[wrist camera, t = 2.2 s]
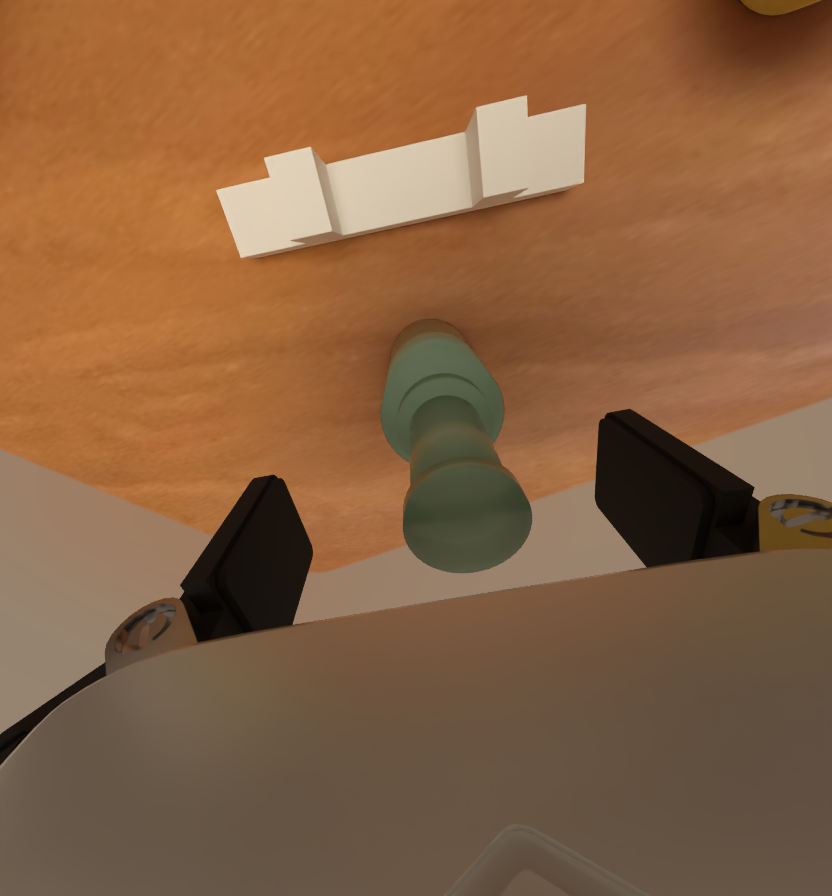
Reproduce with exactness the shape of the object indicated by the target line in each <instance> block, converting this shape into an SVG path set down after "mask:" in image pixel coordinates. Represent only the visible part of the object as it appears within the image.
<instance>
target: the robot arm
mask: <svg viewBox="0 0 832 896" xmlns="http://www.w3.org/2000/svg"><path fill="white" fill-rule="evenodd" d="M753 490H754V487H753V486H752V485H750V484H749V483H747V482H745V481H744V480H742V479H741V478H739V477H737V476H736V475H734V474H733V473H731V472H729V471H728V470H726V469H725V468H723V467H722V466H720V465H718V464H717V463H715V462H714V461H712V460H710V459H709V458H707V457H706V456H704V455H703V454H701V453H699V452H698V451H696V450H695V449H693V448H692V447H690V446H688V445H687V444H685V443H684V442H682V441H680V440H679V439H677V438H676V437H674V436H672V435H671V434H669V433H668V432H666V431H665V430H663V429H661V428H660V427H658V426H657V425H655V424H653V423H652V422H650V421H649V420H647V419H646V418H644V417H642V416H641V415H639V414H638V413H636V412H634V411H633V410H631V409H626V410H621V411H616V412H610V413H607V414H606V416H605V418H604V419H601V420H600V422H599V431H598V448H597V466H596V484H595V501H596V504H597V506H598V508H599V509H600V510H601V512H602V513H603V514H604V515H605V517H606V518H607V519H608V520H609V522H610V523H611V524H612V525H613V526H614V528H615V529H616V530H617V531H618V533H619V534H620V535H621V536H622V537H623V539H624V540H625V541H626V543H627V544H628V545H629V546H630V547H631V549H632V550H633V551H634V552H635V554H637V556H638V557H639V559H640V560H641V561H642V562H643V563H644V565H645V566H646V567H647V568H640V569H634V570H628V571H621V572H615V573H608V574H602V575H596V576H589V577H584V578H577V579H570V580H564V581H557V582H551V583H544V584H538V585H531V586H525V587H519V588H513V589H507V590H501V591H494V592H488V593H482V594H476V595H470V596H464V597H457V598H451V599H445V600H439V601H433V602H427V603H420V604H414V605H409V606H402V607H397V608H390V609H385V610H378V611H372V612H366V613H360V614H354V615H348V616H343V617H337V618H331V619H325V620H319V621H313V622H307V623H301V624H295V625H292V624H293V621H294V617H295V614H296V611H297V607H298V604H299V601H300V597H301V594H302V590H303V587H304V584H305V581H306V577H307V574H308V571H309V567H310V564H311V560H312V557H313V549H312V545H311V542H310V540H309V538H308V535H307V533H306V531H305V528H304V526H303V524H302V521H301V519H300V517H299V514H298V512H297V510H296V507H295V505H294V503H293V500H292V498H291V496H290V493H289V491H288V489H287V486H286V484H285V482H284V480H283V479H282V478H279V479H278V478H277V477H276V476H275V475H269V476H263V477H258V478H254V479H253V480H252V481H251V482H250V484H249V485H248V487H247V488H246V490H245V491H244V493H243V494H242V496H241V497H240V498H239V500H238V501H237V503H236V504H235V506H234V507H233V509H232V510H231V512H230V513H229V515H228V516H227V517H226V519H225V520H224V522H223V523H222V525H221V526H220V528H219V529H218V531H217V532H216V534H215V535H214V536H213V538H212V539H211V541H210V542H209V544H208V545H207V547H206V548H205V550H204V551H203V553H202V554H201V555H200V557H199V559H198V560H197V561H196V563H195V564H194V566H193V567H192V569H191V570H190V571H189V573H188V575H187V576H186V577H185V579H184V580H183V582H182V583H181V585H180V586H181V587H182V589H183V590H184V593H183V595H182V596H181V598H180V599H177V598H164V599H161V600H158V601H155V602H152V603H150V604H148V605H146V606H144V607H142V608H141V609H139V610H138V611H137V612H135V613H134V614H132V615H131V616H130V617H128V618H127V619H126V620H125V621H124V622H123V623H122V624H121V625H120V626H119V627H118V628H117V629H116V630H115V631H114V633H113V634H112V635H111V637H110V639H109V641H108V642H107V645H106V649H105V663H104V664H102V665H101V666H99V667H98V668H96V669H95V670H93V671H92V672H90V673H89V674H87V675H86V676H84V677H83V678H82V679H80V680H79V681H77V682H76V683H74V684H73V685H71V686H70V687H68V688H67V689H65V690H64V691H62V692H61V693H60V694H58V695H57V696H55V697H54V698H52V699H51V700H49V701H48V702H46V703H45V704H43V705H42V706H41V707H39V708H38V709H36V710H35V711H33V712H32V713H31V714H29V715H27V716H26V717H25V718H23V719H22V720H20V721H19V722H17V723H16V724H14V725H13V726H11V727H10V728H9V729H7V730H6V731H4V732H3V733H2V734H0V896H832V503H831V502H828V501H825V500H823V499H818V498H814V497H809V496H802V495H793V494H782V495H774V496H770V497H766V498H765V499H763V500H762V501H761V502H760V501H759V500H757V499H756V498H754V497H752V494H753Z"/></svg>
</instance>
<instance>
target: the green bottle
mask: <svg viewBox="0 0 832 896" xmlns="http://www.w3.org/2000/svg"><path fill="white" fill-rule="evenodd" d="M503 419H504V402H503V397H502V394H501V391H500V389H499V386H498V384H497V383H496V381H495V380H494V378H493V377H492V376H491V374H490V373H489V372H488V370H487V369H486V367H485V366H484V365H483V363H482V362H481V361H480V359H479V358H478V357H477V355H476V354H475V353H474V351H473V350H472V349H471V347H470V346H469V344H468V343H467V342H466V340H465V339H464V338H463V336H462V335H461V334H460V332H459V331H458V330H457V329H456V328H455V327H453V326H452V325H450V324H449V323H447V322H444V321H441V320H437V319H424V320H420V321H417V322H414V323H412V324H410V325H409V326H407V327H406V328H405V329H404V330H403V331H402V332H401V333H400V334H399V335H398V337H397V338H396V340H395V342H394V345H393V348H392V352H391V357H390V363H389V368H388V374H387V380H386V385H385V391H384V397H383V402H382V409H381V422H382V428H383V431H384V434H385V436H386V438H387V440H388V442H389V444H390V445H391V447H392V448H393V449H394V450H395V451H396V453H397V454H399V455H400V456H401V457H402V458H403V459H405V460H406V461H408V462H410V483H411V486H410V487H409V489H408V491H407V493H406V496H405V499H404V505H403V532H404V537H405V540H406V543H407V545H408V547H409V548H410V550H411V551H412V552H413V553H414V555H415V556H416V557H417V558H418V559H420V560H421V561H422V562H424V563H426V564H427V565H429V566H431V567H433V568H436V569H439V570H442V571H446V572H452V573H472V572H478V571H482V570H486V569H490V568H492V567H494V566H497V565H499V564H501V563H503V562H504V561H506V560H507V559H509V558H510V557H511V556H513V555H514V554H515V553H516V552H517V551H518V550H519V549H520V548H521V546H522V545H523V544H524V542H525V541H526V539H527V537H528V535H529V532H530V529H531V525H532V512H531V507H530V504H529V502H528V500H527V498H526V496H525V494H524V492H523V490H522V488H521V486H520V484H519V482H518V480H517V479H516V478H515V476H514V475H513V474H512V473H511V472H510V471H509V470H508V469H506V468H505V467H504V466H502V464H501V462H500V459H499V457H498V455H497V453H496V451H495V449H494V447H493V443H494V442H495V440H496V438H497V437H498V435H499V432H500V430H501V427H502V424H503Z"/></svg>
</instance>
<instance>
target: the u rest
mask: <svg viewBox="0 0 832 896" xmlns="http://www.w3.org/2000/svg"><path fill="white" fill-rule="evenodd" d="M585 123H586V104H582V105H578V106H574V107H569V108H565V109H561V110H556V111H552V112H548V113H544V114H539V115H535V116H531V117H528V114H527V95H526V96H522V97H517V98H513V99H509V100H505V101H501V102H496V103H492V104H488V105H484V106H480V107H476V109H475V111H474V113H473V116H472V118H471V120H470V122H469V125H468V127H467V129H466V131H465V132H462V133H458V134H454V135H450V136H445V137H441V138H437V139H432V140H428V141H424V142H420V143H415V144H411V145H407V146H403V147H398V148H394V149H390V150H385V151H381V152H377V153H373V154H368V155H364V156H360V157H355V158H351V159H347V160H343V161H338V162H334V163H330V164H325V163H324V162H323V161H322V160H321V158H320V157H319V156H318V155H317V154H316V152H315V151H314V150H313V149H312V148H311V147H307V148H303V149H299V150H295V151H291V152H286V153H282V154H278V155H274V156H270V157H265V158H264V159H265V163H266V166H267V169H268V172H269V176H270V178H266V179H261V180H257V181H253V182H249V183H244V184H240V185H236V186H232V187H227V188H223V189H219V190H216V191H217V194H218V197H219V199H220V202H221V205H222V208H223V210H224V213H225V216H226V218H227V221H228V224H229V227H230V229H231V232H232V235H233V237H234V240H235V243H236V246H237V248H238V251H239V254H240V256H241V258H260V257H264V256H269V255H273V254H278V253H283V252H287V251H292V250H296V249H301V248H305V247H310V246H315V245H319V244H324V243H328V242H333V241H337V240H342V239H347V238H351V237H356V236H360V235H365V234H369V233H374V232H379V231H383V230H388V229H392V228H397V227H401V226H406V225H411V224H415V223H420V222H424V221H429V220H433V219H438V218H443V217H447V216H452V215H456V214H461V213H465V212H470V211H475V210H479V209H484V208H488V207H493V206H497V205H502V204H507V203H511V202H516V201H520V200H525V199H530V198H534V197H539V196H543V195H548V194H552V193H557V192H562V191H566V190H568V189H571V188H573V187H575V186H577V185H580V184H582V183H584V160H585Z"/></svg>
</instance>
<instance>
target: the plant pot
mask: <svg viewBox="0 0 832 896" xmlns="http://www.w3.org/2000/svg"><path fill="white" fill-rule="evenodd" d="M740 1H741V2H742V3H743V4H744V5H745V6H747V7H748V8H749V9H751V10H753V11H755V12H757V13H760V14H764V15H781V14H785V13H789V12H792V11H795V10H798V9H800V8H803V7H806V6H808V5H811V4H814V3H816V2H819V1H822V0H740Z"/></svg>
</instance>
